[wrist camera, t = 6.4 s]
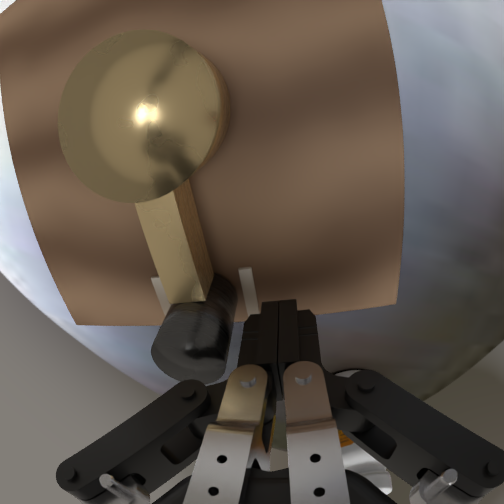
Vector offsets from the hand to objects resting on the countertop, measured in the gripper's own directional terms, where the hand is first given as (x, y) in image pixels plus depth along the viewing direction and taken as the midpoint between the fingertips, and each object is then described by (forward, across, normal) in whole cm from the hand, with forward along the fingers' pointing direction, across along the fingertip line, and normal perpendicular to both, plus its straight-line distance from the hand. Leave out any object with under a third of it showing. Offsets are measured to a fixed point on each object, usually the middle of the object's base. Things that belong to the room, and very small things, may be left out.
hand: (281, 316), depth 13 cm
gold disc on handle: (+2, +4, -5) cm, 7 cm away
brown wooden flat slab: (+4, +4, -9) cm, 11 cm away
